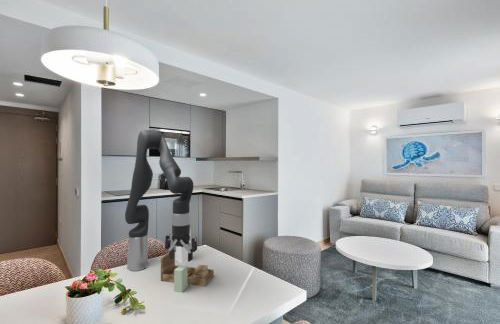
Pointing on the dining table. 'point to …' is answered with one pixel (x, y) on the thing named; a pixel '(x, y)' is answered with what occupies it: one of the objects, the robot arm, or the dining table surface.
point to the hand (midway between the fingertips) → (180, 259)
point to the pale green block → (180, 278)
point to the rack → (169, 267)
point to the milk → (182, 253)
